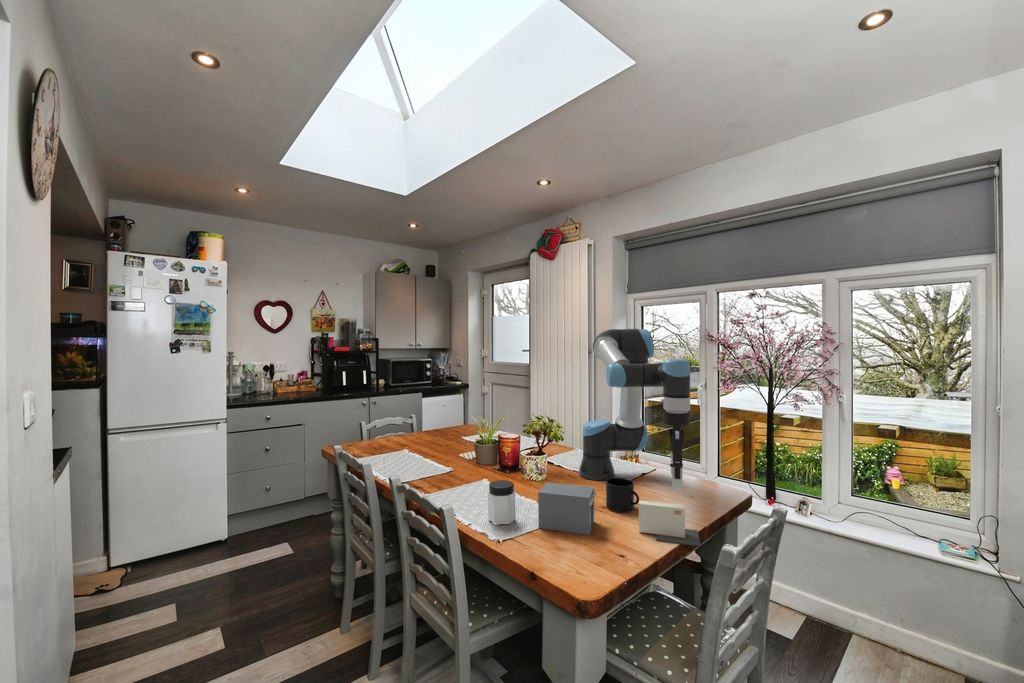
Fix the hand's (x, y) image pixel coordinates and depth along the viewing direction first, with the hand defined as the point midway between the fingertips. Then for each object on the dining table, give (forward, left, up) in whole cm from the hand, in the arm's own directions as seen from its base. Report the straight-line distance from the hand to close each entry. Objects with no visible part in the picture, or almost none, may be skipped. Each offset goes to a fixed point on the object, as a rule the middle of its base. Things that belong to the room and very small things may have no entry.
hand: (676, 481), depth 130 cm
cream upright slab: (0, -4, -16) cm, 16 cm away
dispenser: (+2, -33, -16) cm, 37 cm away
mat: (0, 0, -16) cm, 16 cm away
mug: (-17, -17, -17) cm, 29 cm away
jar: (+5, -54, -16) cm, 57 cm away
